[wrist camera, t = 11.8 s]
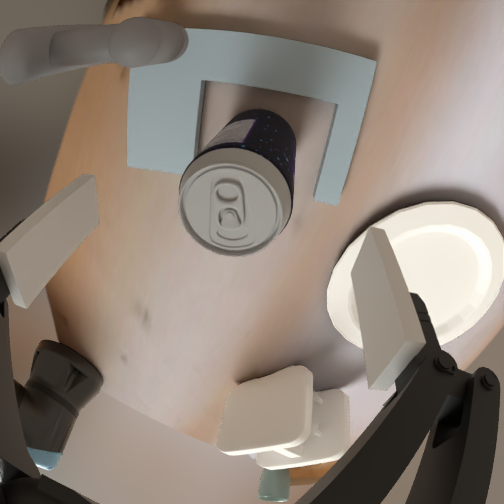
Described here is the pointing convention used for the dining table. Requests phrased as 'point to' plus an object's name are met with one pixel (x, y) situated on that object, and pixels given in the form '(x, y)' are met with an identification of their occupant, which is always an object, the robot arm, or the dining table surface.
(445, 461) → the robot arm
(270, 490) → the cup
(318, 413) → the cable organizer
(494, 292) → the plate
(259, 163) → the beverage can
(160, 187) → the dining table surface
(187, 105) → the l-shaped desk stand
